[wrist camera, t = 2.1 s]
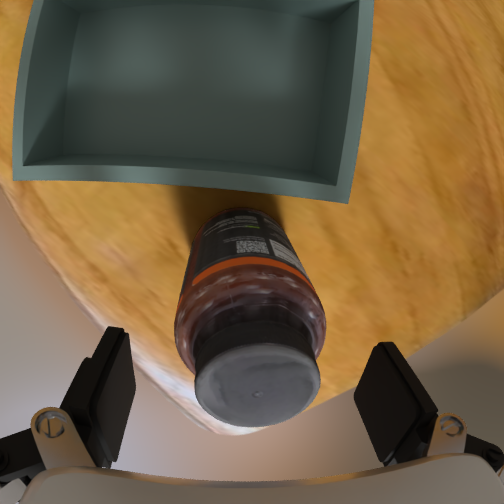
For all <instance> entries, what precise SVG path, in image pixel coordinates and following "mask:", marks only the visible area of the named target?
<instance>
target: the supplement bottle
mask: <svg viewBox="0 0 504 504" xmlns="http://www.w3.org/2000/svg"><path fill="white" fill-rule="evenodd" d="M325 335H326V318H325V312H324V309H323V306H322V304H321V301H320V299H319V297H318V295H317V294H316V292H315V289H314V287H313V285H312V283H311V281H310V279H309V278H308V276H307V274H306V272H305V270H304V268H303V266H302V264H301V262H300V260H299V258H298V256H297V254H296V252H295V251H294V249H293V247H292V245H291V243H290V241H289V239H288V237H287V235H286V234H285V232H284V231H283V229H282V228H281V226H280V225H279V224H278V223H277V222H276V221H275V220H274V219H273V218H271V217H270V216H269V215H267V214H265V213H263V212H261V211H258V210H254V209H249V208H234V209H228V210H225V211H222V212H219V213H218V214H216V215H214V216H213V217H211V218H210V219H209V220H208V221H207V222H205V223H204V225H203V226H202V227H201V228H200V230H199V231H198V233H197V234H196V236H195V239H194V241H193V244H192V247H191V251H190V256H189V259H188V264H187V268H186V272H185V276H184V280H183V284H182V289H181V293H180V297H179V302H178V306H177V311H176V317H175V322H174V336H175V343H176V347H177V350H178V353H179V355H180V357H181V359H182V361H183V362H184V364H185V365H186V367H187V368H188V369H189V370H190V371H191V372H192V373H193V374H194V375H195V380H194V382H195V395H196V398H197V400H198V402H199V404H200V405H201V406H202V408H203V409H204V410H205V411H206V412H207V413H208V414H210V415H212V416H213V417H214V418H216V419H218V420H220V421H222V422H225V423H228V424H231V425H234V426H241V427H264V426H269V425H275V424H278V423H281V422H284V421H286V420H288V419H290V418H292V417H294V416H296V415H298V414H299V413H301V412H302V411H303V410H305V409H306V408H307V407H308V406H309V405H310V404H311V403H312V402H313V400H314V399H315V397H316V395H317V393H318V390H319V388H320V380H321V379H320V372H319V369H318V366H317V363H316V359H317V358H318V356H319V354H320V352H321V350H322V348H323V345H324V341H325Z"/></svg>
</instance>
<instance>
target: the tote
mask: <svg viewBox="0 0 504 504" xmlns="http://www.w3.org/2000/svg"><path fill="white" fill-rule="evenodd" d="M373 12H374V0H34V2H33V5H32V9H31V12H30V16H29V20H28V24H27V28H26V33H25V37H24V42H23V47H22V52H21V58H20V64H19V71H18V78H17V86H16V95H15V105H14V119H13V148H12V160H13V181H19V180H66V181H106V182H130V183H149V184H166V185H180V186H194V187H206V188H218V189H229V190H239V191H249V192H258V193H268V194H276V195H285V196H293V197H301V198H309V199H316V200H324V201H331V202H338V203H345V204H348V202H349V197H350V192H351V187H352V181H353V176H354V170H355V165H356V159H357V153H358V147H359V141H360V134H361V128H362V121H363V114H364V106H365V99H366V91H367V82H368V73H369V64H370V53H371V41H372V28H373Z"/></svg>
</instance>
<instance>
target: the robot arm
mask: <svg viewBox="0 0 504 504" xmlns="http://www.w3.org/2000/svg"><path fill="white" fill-rule="evenodd" d="M135 391H136V383H135V376H134V370H133V363H132V355H131V347H130V339H129V334H128V333H125V332H124V329H123V328H118V327H111V326H108V327H107V329H106V331H105V333H104V335H103V336H102V338H101V340H100V342H99V344H98V346H97V348H96V350H95V352H94V354H93V356H92V358H88V357H86V358H85V359H84V360H83V362H82V363H81V365H80V367H79V369H78V371H77V373H76V375H75V377H74V379H73V381H72V383H71V385H70V387H69V389H68V391H67V393H66V395H65V397H64V399H63V401H62V403H61V405H60V408H56V407H47V408H43V409H41V410H39V411H38V412H37V413H35V415H34V416H33V417H32V419H31V428H29V429H27V430H24V431H21V432H18V433H15V434H12V435H10V436H7V437H4V438H1V439H0V504H15V503H16V502H19V504H504V454H503V452H502V450H501V449H500V448H499V447H498V446H496V445H494V444H491V443H488V442H486V441H484V440H481V439H478V438H476V437H474V436H471V435H469V434H467V427H466V424H465V422H464V421H463V420H462V419H461V418H460V417H459V416H457V415H455V414H452V413H444V414H441V415H440V416H438V414H437V412H438V409H437V407H436V405H435V404H434V402H433V401H432V399H431V398H430V396H429V394H428V393H427V391H426V390H425V388H424V387H423V385H422V384H421V382H420V381H419V379H418V378H417V376H416V375H415V373H414V372H413V370H412V369H411V367H410V366H409V364H408V363H407V361H406V360H405V358H404V357H403V355H402V354H401V352H400V351H399V349H398V348H397V347H396V345H395V344H394V343H393V342H379V343H378V344H377V346H375V347H374V348H373V350H372V352H371V355H370V357H369V360H368V362H367V365H366V367H365V369H364V372H363V374H362V376H361V379H360V381H359V383H358V385H357V388H356V390H355V392H354V401H355V403H356V406H357V408H358V411H359V413H360V415H361V418H362V420H363V423H364V425H365V427H366V430H367V432H368V435H369V437H370V440H371V442H372V444H373V447H374V449H375V452H376V454H377V457H378V459H379V461H380V462H383V464H384V467H381V468H377V469H372V470H367V471H362V472H356V473H349V474H343V475H336V476H328V477H320V478H311V479H300V480H287V481H261V482H233V481H208V480H193V479H182V478H173V477H164V476H155V475H148V474H141V473H135V472H129V471H122V470H115V469H109V468H111V464H112V461H113V462H116V461H117V459H118V455H119V451H120V446H121V443H122V439H123V435H124V431H125V427H126V424H127V420H128V416H129V413H130V409H131V406H132V402H133V399H134V395H135ZM102 467H106V468H102Z"/></svg>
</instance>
